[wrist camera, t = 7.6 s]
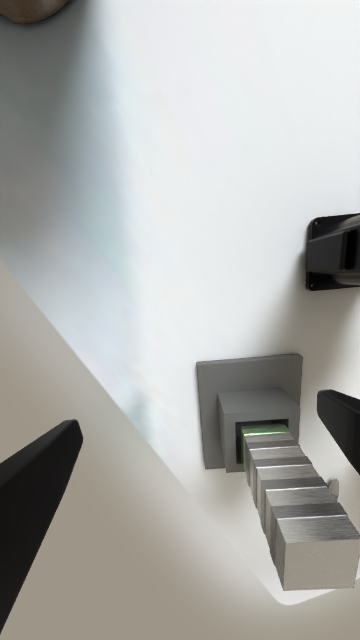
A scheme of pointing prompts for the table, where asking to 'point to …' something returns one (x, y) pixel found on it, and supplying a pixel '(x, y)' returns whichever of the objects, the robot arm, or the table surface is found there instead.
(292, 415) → the stand base
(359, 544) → the column
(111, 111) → the table surface
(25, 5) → the plant pot
